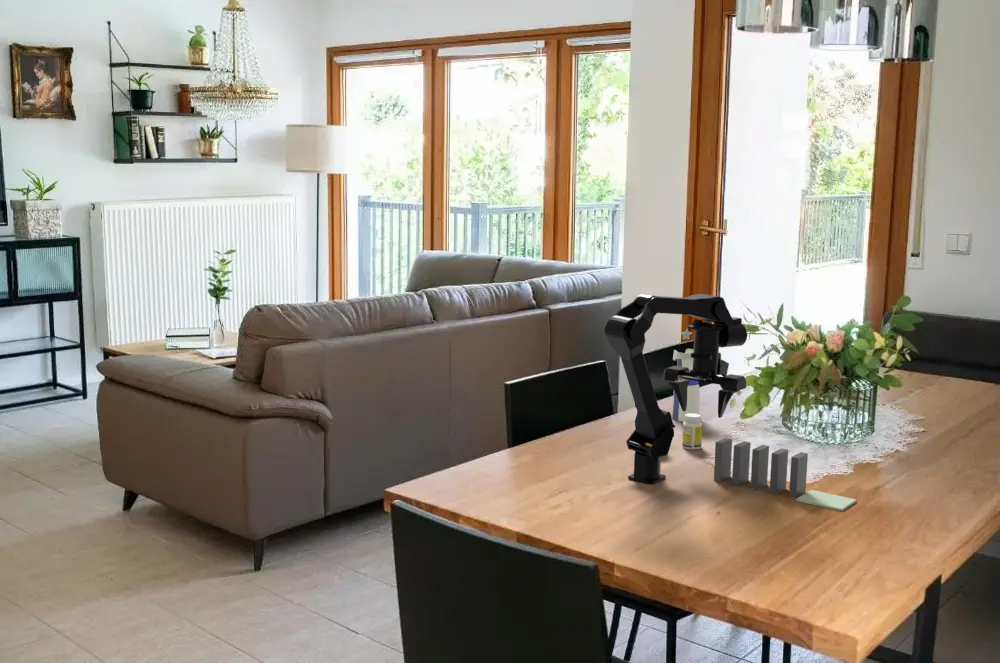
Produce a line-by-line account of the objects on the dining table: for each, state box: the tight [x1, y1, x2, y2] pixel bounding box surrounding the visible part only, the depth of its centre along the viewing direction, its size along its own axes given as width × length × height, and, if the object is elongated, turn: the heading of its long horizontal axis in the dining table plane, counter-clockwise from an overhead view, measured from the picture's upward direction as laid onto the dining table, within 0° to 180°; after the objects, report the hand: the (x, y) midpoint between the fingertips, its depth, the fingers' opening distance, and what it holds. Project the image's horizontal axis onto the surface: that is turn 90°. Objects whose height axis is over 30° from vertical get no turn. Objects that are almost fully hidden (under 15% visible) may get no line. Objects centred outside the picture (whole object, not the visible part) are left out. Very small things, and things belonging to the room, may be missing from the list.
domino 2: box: [731, 440, 752, 487], centre depth 234 cm, size 2×5×9 cm, turn 141°
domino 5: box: [788, 451, 809, 500], centre depth 226 cm, size 2×5×9 cm, turn 141°
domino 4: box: [769, 447, 789, 495], centre depth 229 cm, size 2×5×9 cm, turn 141°
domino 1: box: [713, 437, 733, 483], centre depth 237 cm, size 2×5×9 cm, turn 141°
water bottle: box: [671, 328, 700, 423], centre depth 290 cm, size 8×8×25 cm
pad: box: [795, 489, 857, 512], centre depth 223 cm, size 8×10×1 cm
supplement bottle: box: [682, 413, 703, 451], centre depth 262 cm, size 5×5×8 cm
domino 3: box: [750, 444, 770, 491], centre depth 231 cm, size 2×5×9 cm, turn 141°
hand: (702, 414), depth 244 cm, fingers open, 9 cm apart
